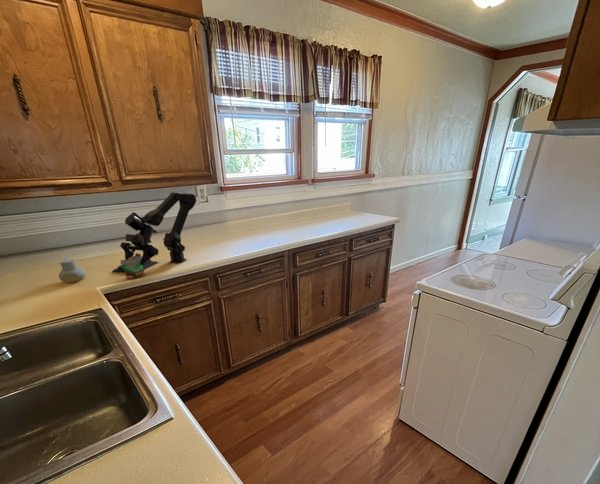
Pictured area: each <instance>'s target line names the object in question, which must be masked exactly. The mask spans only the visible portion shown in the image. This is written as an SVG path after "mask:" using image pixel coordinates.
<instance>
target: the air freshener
mask: <svg viewBox="0 0 600 484" xmlns="http://www.w3.org/2000/svg"><path fill="white" fill-rule="evenodd" d="M59 263H60V266H61V269H62V270H61V271H60V272H59V273H58V279H59V280H60V281H62V282H64V283H68V284H74V283H78V282H79V281H82V280H83V279H85V278H86V275H87V273H86V270H84V269H83V268H82V267H78V265H77V263H76V260H75V258H67V259H63V260H61V261H59Z"/></svg>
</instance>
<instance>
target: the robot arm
mask: <svg viewBox="0 0 600 484" xmlns="http://www.w3.org/2000/svg"><path fill="white" fill-rule="evenodd" d="M177 203H179V208H178V213H177V214H176V217H175V219H174V222H173V225H172V228H171V231H170V232H166V233H165V234H164V237H163V239H162V240H163V245H164V247H165V248H166V249H167V251H169V256H170V261H169V262H170V263H172V264H173V263H175V264H181V263H183V262H185V261H187V258H185V255H184V254H185V253H184V251H186V246H185V245H183V244H182V237H181V234H182V231H183V228H184V226H185V223H186V221H187V218H188V215H189V213H190V211H191V210H192V209H193V208H194V207H195V205H196V203H197V197H196V195H195V194H194V193H188V192H183V193H179V192H175V191H173V192H170V193H169V195H168V196H167V197H166V198H165V199H164V200H163V201H162V202H161V203H160V204H159V205H158V206H157V207H156V208H155V209H152V210H150V211H148V212H146V214H145V215H144V216H142V217H141V216H140V215H138V214H137V213H136V212H131V214H129V215H128V216H126V217H125V220H124V223H125V225H126V226H128V227H130V228H131V229H133V230H134V231H136V232H138V233H136V234H130V233H129V234H128V233H126V234H125V241H123V242H121V243H120V246H119V247H120V248H121V249H122V250H123V251H124V260H126V259H127V258H129V257H133V256H135V253H136V251H142V255H141V256H142V259H141V262H140V265H143V264H144V263H145V262H147V261H148V260H149V259H150V260H151V259H152V258H154V257H156V256H159V249H158V248H157V247H156V246H155V245H154V244H151V243H152V240H151V238H152V235H153V234H158V231H157V228H156V227H159V226H160V225H161V223H162V222H163V221H164V217H165V215H167V213H169V211H170V210H171V209H172V208H173V207H174V206H175V205H176V204H177Z"/></svg>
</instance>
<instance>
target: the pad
mask: <svg viewBox="0 0 600 484" xmlns="http://www.w3.org/2000/svg"><path fill="white" fill-rule="evenodd" d="M156 264H158V261H155V260H152V259H151V258H150V259H149V260H148V261H147V262H145V263H144V264H143V271H145V270H146V269H148V268H150V267H152V266H154V265H156ZM112 272H113V273H124V274H125V271H124V269H123V266H122V264H120V265H118V266H117V268H114V269H112Z"/></svg>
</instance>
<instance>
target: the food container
mask: <svg viewBox="0 0 600 484" xmlns="http://www.w3.org/2000/svg"><path fill="white" fill-rule="evenodd" d="M142 256H143V255H142V254H141V253H139V252H135V254H134V255H133V257H129V258H127V259H126V260H125V259H120V265H122V266H123V269H124V271H125V273H124V274H125V277H126V279H127V280H136V279H139V278H142V277H145V273H144V271H145V270H143V265H140V262H141V259H142Z"/></svg>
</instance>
